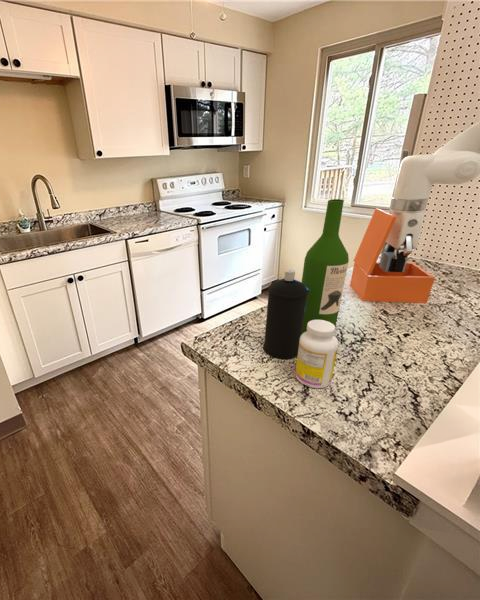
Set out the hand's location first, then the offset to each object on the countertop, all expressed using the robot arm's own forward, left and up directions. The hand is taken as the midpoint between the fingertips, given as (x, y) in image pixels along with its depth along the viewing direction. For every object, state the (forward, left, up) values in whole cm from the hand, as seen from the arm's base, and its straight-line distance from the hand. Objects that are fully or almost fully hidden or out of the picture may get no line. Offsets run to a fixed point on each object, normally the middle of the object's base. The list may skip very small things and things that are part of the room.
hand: (391, 267), depth 91 cm
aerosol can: (+33, +35, -8) cm, 49 cm away
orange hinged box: (0, 0, -8) cm, 8 cm away
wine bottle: (+24, +25, -8) cm, 36 cm away
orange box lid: (+6, 0, +8) cm, 10 cm away
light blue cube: (0, 0, 0) cm, 0 cm away
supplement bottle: (+28, +45, -8) cm, 54 cm away
